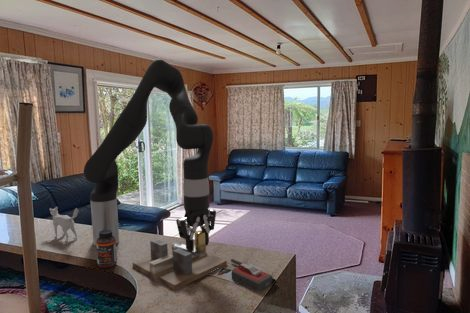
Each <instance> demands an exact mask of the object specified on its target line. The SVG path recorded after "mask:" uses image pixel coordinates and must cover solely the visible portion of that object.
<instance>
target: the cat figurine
mask: <svg viewBox="0 0 470 313" xmlns="http://www.w3.org/2000/svg"><path fill="white" fill-rule="evenodd" d="M58 209H59V206H58V205H57V206H55V207H54V208H51V207H50V208H49V211H50V212H49V213H50V215H51V216H52V225H53V230H54V233H55V236H54V238H58V227H61V230H62V232H63V233H62V235H64V236H65V237H66V240H64V242H65V243H69V234H68V230H71V232H72V233H73V235H74V237H73V239H74V240H77V237H78V236H77V232H76V228H75V221H74V219H75V218H76V217H77V216H78V214H79V212H80V210H79V209H78V208H77V207H76V208H75V209H74V210H73V214H72V216H69V215H67V214H65V215H64V214H59V210H58Z"/></svg>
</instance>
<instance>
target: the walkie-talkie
mask: <svg viewBox="0 0 470 313" xmlns="http://www.w3.org/2000/svg"><path fill="white" fill-rule="evenodd" d="M230 262H231V263H233V264H236V265H238V266H237V267H234V268H233V269H231V280H233V279H234V280H233V281H235V280H236V281H235V282H237V283H239V284H240V285H243V286H245V287H247V288H249V289H252V290H254V291H256V292H259V293H260V292H263V291H264V290H266V289H268V288H270V287H272V286H273V284H274V285H275V284H277V282H278V281H277V279H276V278H273V275H272V274H270V273H266V272H264V271H262V269H261V267H259V266H256V265H254V264H253V263H250V264H249V263H246V262H241V261H239V260H236V259H234V258H231V259H230Z"/></svg>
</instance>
